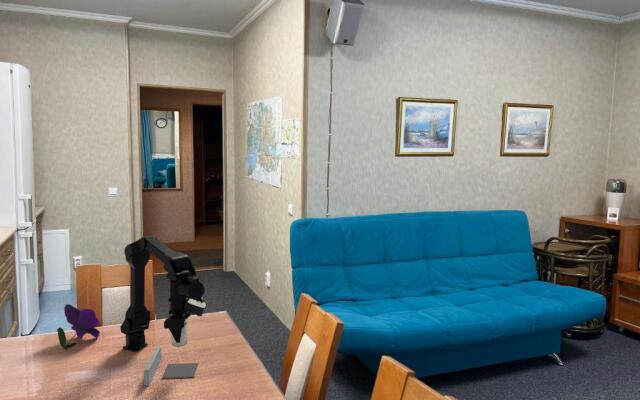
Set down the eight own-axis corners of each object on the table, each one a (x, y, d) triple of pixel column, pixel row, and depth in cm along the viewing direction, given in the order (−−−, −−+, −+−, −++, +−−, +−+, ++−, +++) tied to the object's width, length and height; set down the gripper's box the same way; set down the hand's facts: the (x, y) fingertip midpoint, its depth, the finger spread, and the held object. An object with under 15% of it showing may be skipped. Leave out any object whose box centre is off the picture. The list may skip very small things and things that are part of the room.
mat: (161, 378, 159) (161, 377, 159) (168, 365, 169) (168, 363, 169) (193, 377, 160) (193, 376, 160) (197, 364, 170) (197, 362, 170)
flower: (89, 362, 181) (109, 334, 192) (73, 335, 173) (95, 306, 184) (54, 358, 185) (76, 330, 195) (38, 331, 176) (61, 303, 187)
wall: (149, 385, 155) (148, 370, 154) (144, 385, 154) (143, 370, 154) (161, 360, 172) (161, 346, 172) (157, 360, 172) (156, 346, 172)
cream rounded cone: (168, 345, 162) (168, 327, 161) (178, 339, 167) (178, 322, 166) (180, 348, 160) (180, 330, 159) (190, 342, 164) (190, 325, 164)
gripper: (200, 302, 153) (200, 350, 155) (207, 284, 171) (207, 328, 173) (162, 302, 152) (164, 351, 154) (174, 285, 170) (175, 329, 172)
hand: (179, 339), depth 163 cm, fingers closed on cream rounded cone, 5 cm apart
